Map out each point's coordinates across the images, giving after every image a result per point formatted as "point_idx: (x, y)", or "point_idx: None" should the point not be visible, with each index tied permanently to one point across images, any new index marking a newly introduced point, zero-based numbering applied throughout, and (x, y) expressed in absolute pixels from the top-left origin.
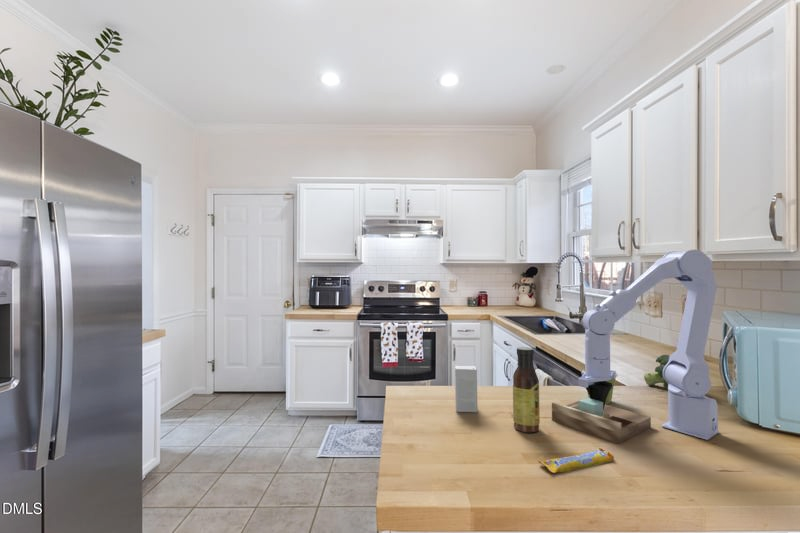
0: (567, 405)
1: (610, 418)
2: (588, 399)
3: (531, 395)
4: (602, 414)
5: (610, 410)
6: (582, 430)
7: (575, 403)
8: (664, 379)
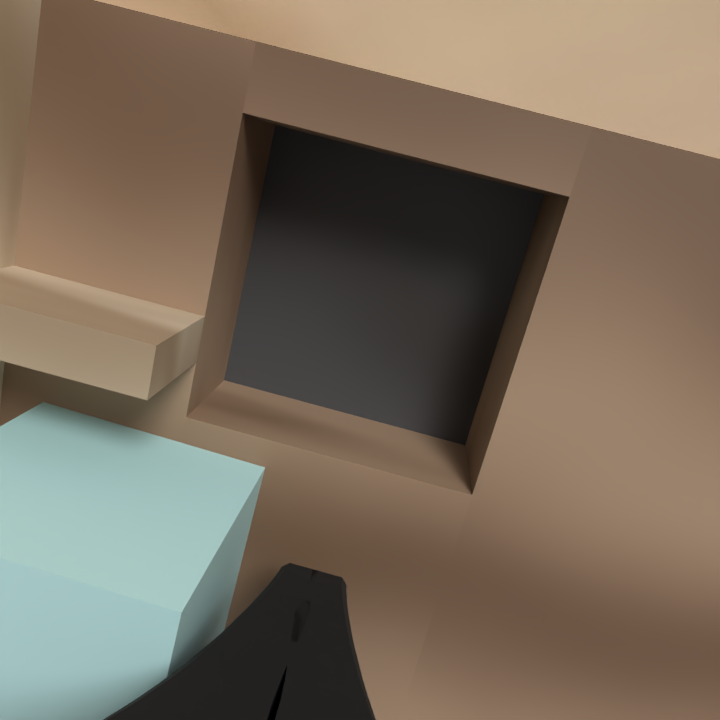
0: (421, 101)
1: None
2: (81, 644)
3: None
4: None
5: (605, 685)
6: None
7: (635, 183)
8: None
